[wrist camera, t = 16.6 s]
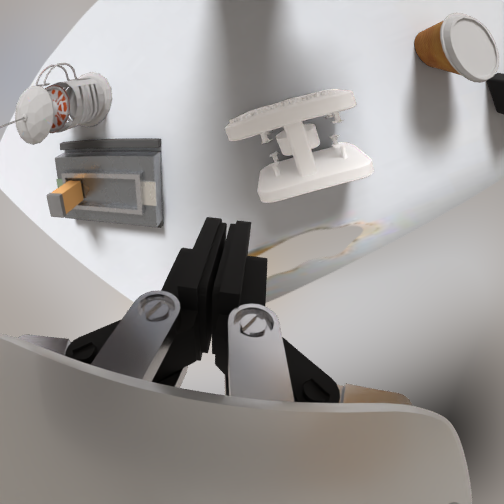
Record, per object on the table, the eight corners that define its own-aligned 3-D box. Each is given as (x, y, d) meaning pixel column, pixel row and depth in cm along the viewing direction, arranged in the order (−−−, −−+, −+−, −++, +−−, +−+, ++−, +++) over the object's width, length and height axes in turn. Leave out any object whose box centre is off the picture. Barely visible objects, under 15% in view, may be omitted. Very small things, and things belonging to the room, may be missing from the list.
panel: (63, 152, 40) (50, 159, 37) (161, 151, 40) (152, 158, 37) (72, 210, 47) (61, 220, 44) (164, 219, 47) (156, 230, 44)
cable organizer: (258, 177, 42) (254, 210, 33) (233, 113, 37) (219, 125, 27) (353, 151, 38) (378, 176, 29) (334, 84, 33) (356, 85, 23)
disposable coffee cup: (458, 78, 28) (506, 86, 18) (412, 77, 30) (456, 81, 20) (446, 24, 23) (492, 18, 13) (397, 20, 25) (437, 6, 15)
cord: (63, 142, 39) (59, 143, 38) (160, 138, 39) (157, 140, 38) (64, 148, 40) (60, 150, 39) (160, 146, 40) (157, 147, 39)
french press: (66, 127, 38) (-43, 184, 17) (69, 65, 31) (-51, 89, 11) (110, 127, 38) (-6, 187, 17) (115, 59, 32) (-12, 70, 11)
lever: (68, 179, 40) (46, 195, 35) (81, 180, 40) (59, 195, 35) (71, 199, 42) (51, 216, 37) (84, 200, 42) (63, 217, 37)
